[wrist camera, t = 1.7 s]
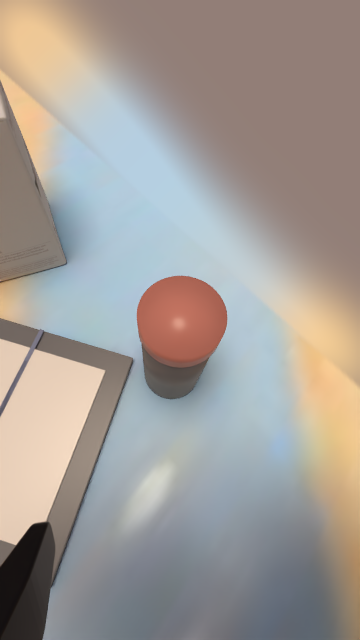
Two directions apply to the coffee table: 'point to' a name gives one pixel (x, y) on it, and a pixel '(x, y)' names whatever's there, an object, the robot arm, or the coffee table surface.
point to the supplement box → (23, 207)
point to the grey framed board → (51, 428)
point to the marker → (179, 333)
